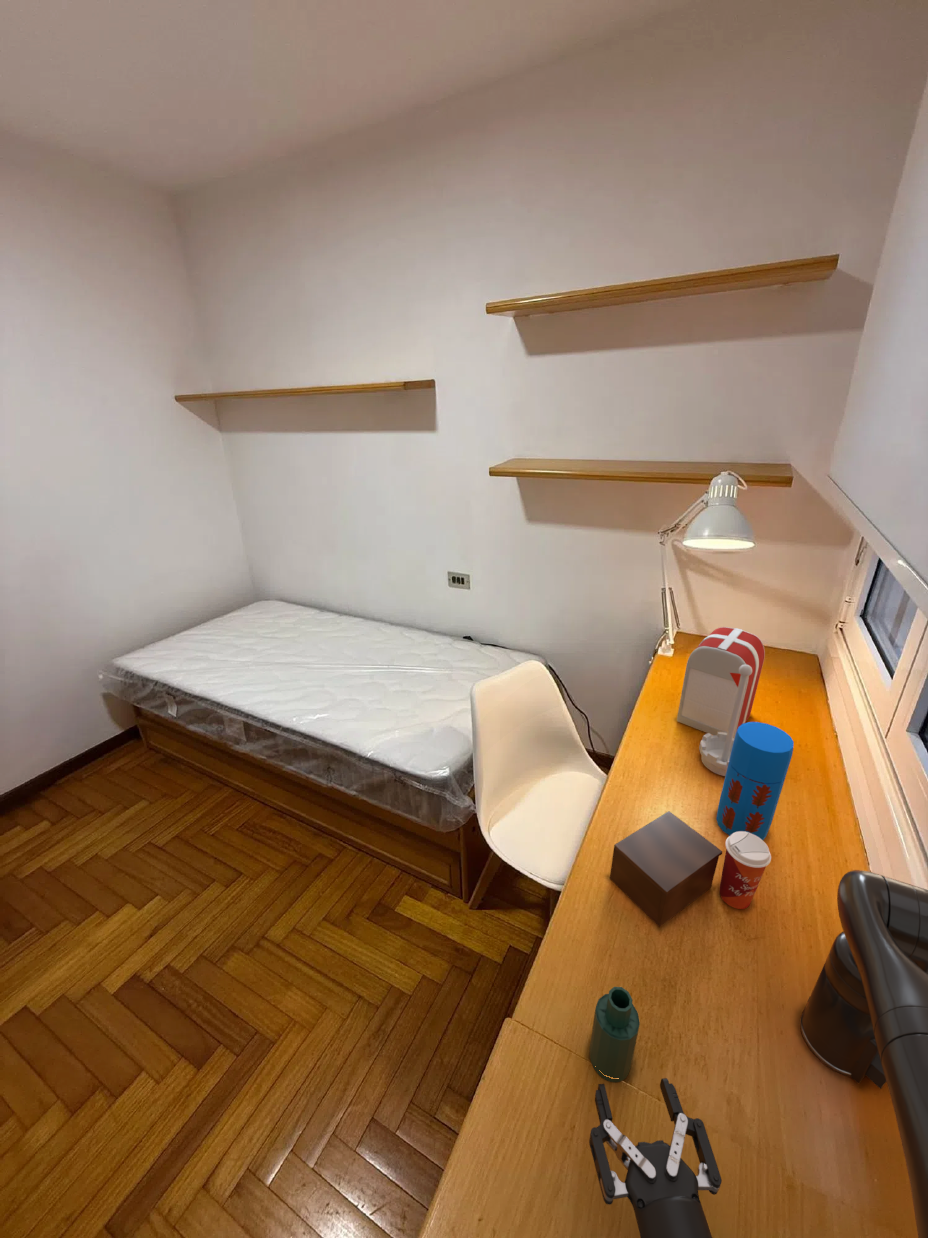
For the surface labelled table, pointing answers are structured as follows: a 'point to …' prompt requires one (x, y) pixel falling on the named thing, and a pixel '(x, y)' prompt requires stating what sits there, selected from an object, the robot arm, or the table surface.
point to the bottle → (614, 1034)
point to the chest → (651, 896)
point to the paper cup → (743, 868)
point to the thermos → (754, 779)
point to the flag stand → (720, 745)
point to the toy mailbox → (720, 680)
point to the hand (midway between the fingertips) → (632, 1084)
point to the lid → (667, 851)
